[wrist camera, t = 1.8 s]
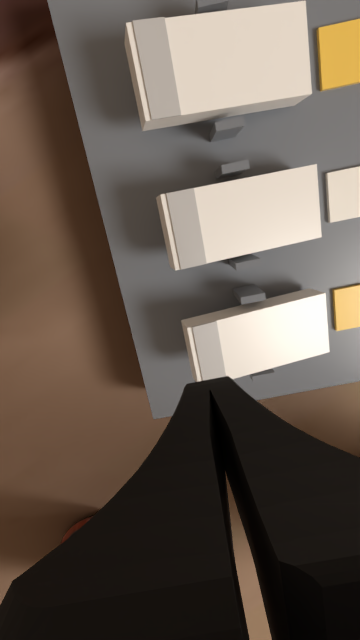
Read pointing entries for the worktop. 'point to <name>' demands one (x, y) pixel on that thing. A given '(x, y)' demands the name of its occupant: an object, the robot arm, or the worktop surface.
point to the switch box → (216, 167)
